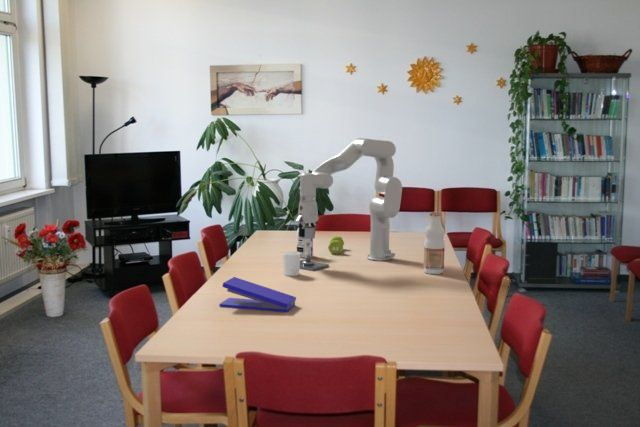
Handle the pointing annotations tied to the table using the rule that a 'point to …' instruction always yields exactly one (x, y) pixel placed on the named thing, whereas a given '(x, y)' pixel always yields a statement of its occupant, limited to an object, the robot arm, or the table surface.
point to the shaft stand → (309, 264)
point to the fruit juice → (434, 246)
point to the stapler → (256, 297)
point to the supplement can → (301, 244)
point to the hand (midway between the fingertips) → (307, 235)
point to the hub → (309, 232)
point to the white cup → (291, 263)
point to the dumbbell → (336, 245)
